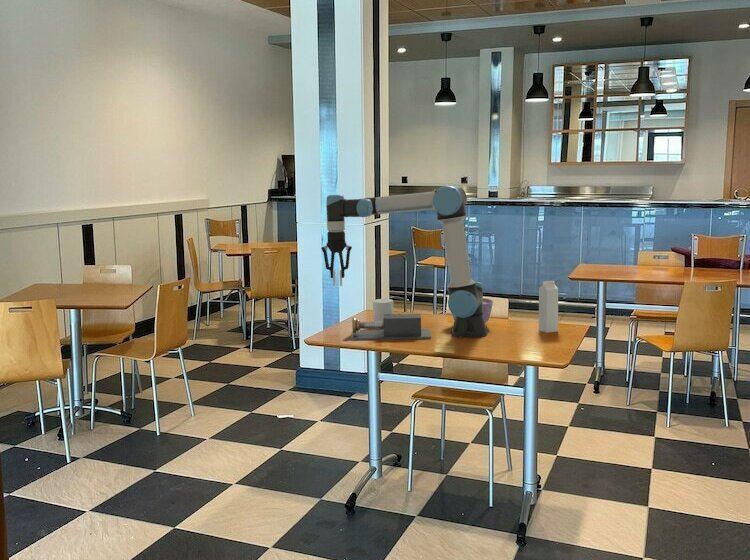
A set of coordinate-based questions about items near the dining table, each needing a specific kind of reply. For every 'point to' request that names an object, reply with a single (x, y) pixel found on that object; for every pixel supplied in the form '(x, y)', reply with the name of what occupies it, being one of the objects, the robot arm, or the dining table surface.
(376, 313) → the candle holder
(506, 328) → the dining table surface
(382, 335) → the bearing block
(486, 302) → the bowl of food
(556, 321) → the milk
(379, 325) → the shaft
